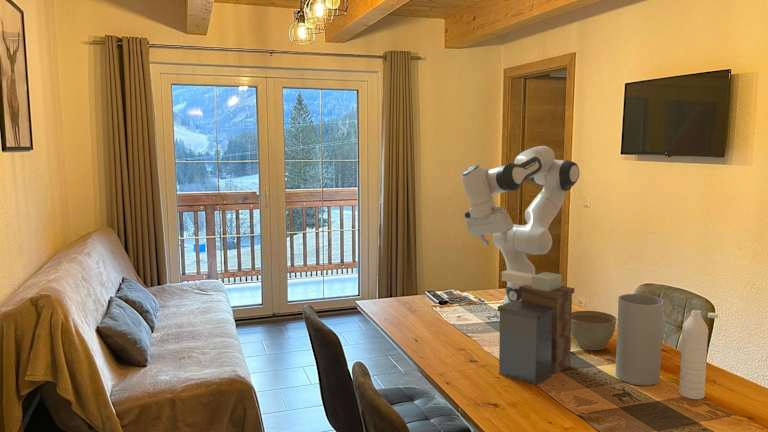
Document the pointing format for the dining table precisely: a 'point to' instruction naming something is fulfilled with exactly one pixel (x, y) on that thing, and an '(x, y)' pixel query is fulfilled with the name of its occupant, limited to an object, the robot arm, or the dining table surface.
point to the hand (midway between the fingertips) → (495, 244)
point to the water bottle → (694, 356)
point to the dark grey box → (525, 341)
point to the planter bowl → (592, 329)
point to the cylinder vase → (639, 339)
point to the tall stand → (555, 320)
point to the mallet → (534, 279)
